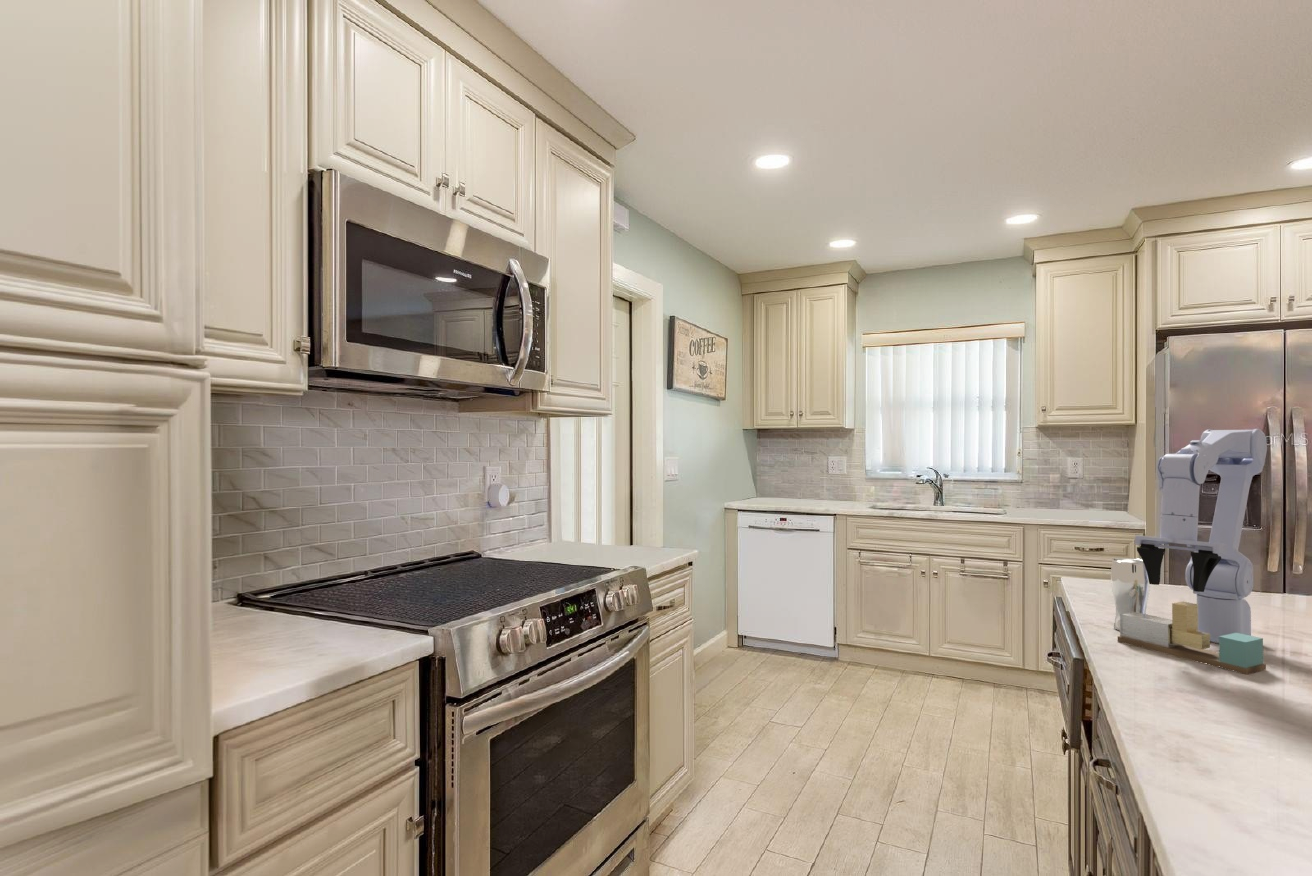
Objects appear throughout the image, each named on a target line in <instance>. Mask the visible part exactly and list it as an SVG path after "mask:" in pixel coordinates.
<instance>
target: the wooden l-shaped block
mask: <svg viewBox="0 0 1312 876" xmlns="http://www.w3.org/2000/svg"><path fill="white" fill-rule="evenodd" d="M1171 608H1172V609H1171V610H1172V611H1171V612H1172V613H1171V614H1172V617H1171V620H1172V627H1170V642H1173V643H1177V644H1181V645H1185V646H1189V647H1193V648H1198V649H1205V650H1207V649H1210V647H1211V641H1210V634H1209V633H1204V632H1199V631H1198V604H1197V603H1193V602H1187V601H1177V602H1173V603H1171Z"/></svg>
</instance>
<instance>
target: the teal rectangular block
mask: <svg viewBox="0 0 1312 876" xmlns="http://www.w3.org/2000/svg"><path fill="white" fill-rule="evenodd" d="M1218 653H1219V662H1223V663H1227V664H1231V665H1235V666H1239V667H1243V668H1248V667H1252V666H1256V665H1260V664H1263V663H1264V638H1263V637H1258V636H1253V635H1251V636H1250V635H1245V634H1240V633H1233V634H1228V635H1223V636H1219V643H1218Z"/></svg>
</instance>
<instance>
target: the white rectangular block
mask: <svg viewBox="0 0 1312 876" xmlns="http://www.w3.org/2000/svg"><path fill="white" fill-rule="evenodd" d="M1170 627H1172V618H1171V619H1170V618H1165V617H1160V616H1156V615H1151V614H1142V613H1138V612H1128V613H1122V614H1120V631H1119V636H1122V637H1126V638H1130V639H1134V640H1138V641H1142V642H1146V643H1150V644H1154V645H1158V646H1162V647H1166V648H1171V647H1175V646H1180V645H1181V644H1177V643H1173V642H1170Z"/></svg>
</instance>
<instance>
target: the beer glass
mask: <svg viewBox="0 0 1312 876" xmlns="http://www.w3.org/2000/svg"><path fill="white" fill-rule="evenodd" d="M1110 569H1111V570H1110V582H1111V585H1110V587H1111V591H1112V597H1113V601H1114V605H1115V606H1114V607H1115V619H1114V624H1113V628H1114V630H1116V629H1117V630H1116V631H1118V630H1120V614H1122V613H1128V612H1138V613H1142V614H1146V613H1147V607H1148V606H1147V605H1148V602H1149V598H1150V597H1149V596H1150V591H1151V584H1149V579H1148V575H1147V571H1146V568H1145V565H1144V563H1143V560H1142V558H1141V559H1140V558H1132V557H1131V558H1130V557H1114V558H1112V559H1111V568H1110Z"/></svg>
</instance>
